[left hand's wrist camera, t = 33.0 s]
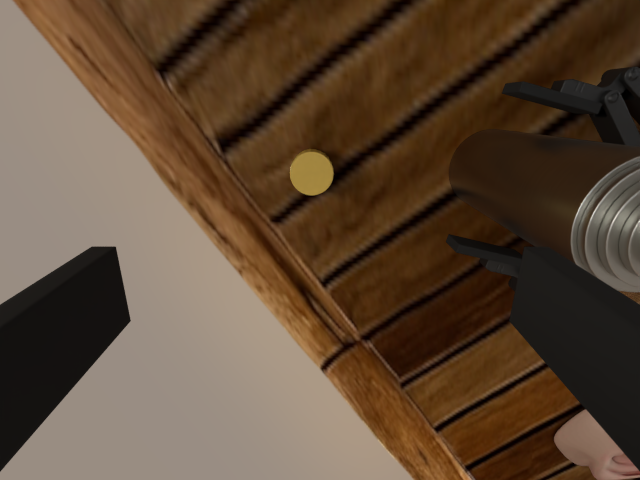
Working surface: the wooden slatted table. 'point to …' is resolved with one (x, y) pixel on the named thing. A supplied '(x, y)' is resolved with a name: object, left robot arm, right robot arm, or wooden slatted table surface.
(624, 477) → the anatomical model
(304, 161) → the cap
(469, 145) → the bottle
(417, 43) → the wooden slatted table surface
